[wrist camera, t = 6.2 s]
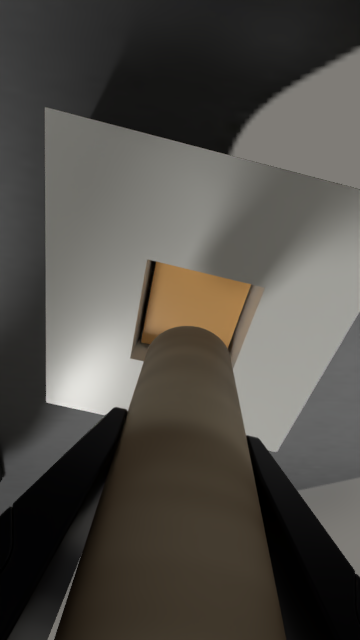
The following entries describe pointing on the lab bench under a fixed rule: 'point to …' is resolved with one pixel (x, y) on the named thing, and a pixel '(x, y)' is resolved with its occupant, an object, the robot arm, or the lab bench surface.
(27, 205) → the lab bench surface
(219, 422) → the wooden peg
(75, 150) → the socket block
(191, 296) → the plunger plate
